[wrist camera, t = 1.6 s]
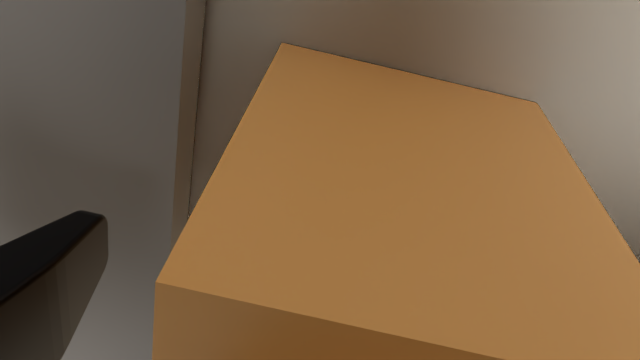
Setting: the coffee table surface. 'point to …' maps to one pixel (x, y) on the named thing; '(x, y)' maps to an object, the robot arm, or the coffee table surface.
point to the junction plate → (102, 142)
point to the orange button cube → (394, 230)
